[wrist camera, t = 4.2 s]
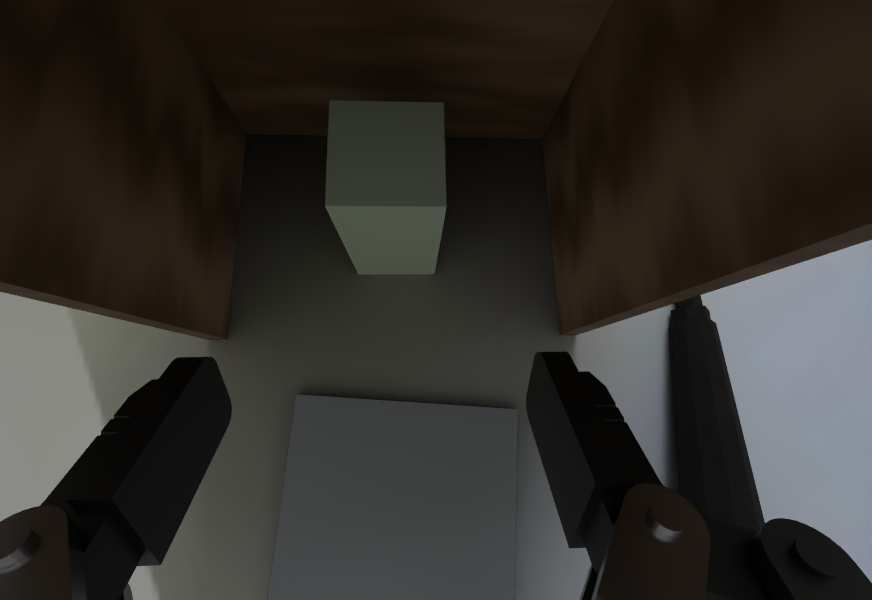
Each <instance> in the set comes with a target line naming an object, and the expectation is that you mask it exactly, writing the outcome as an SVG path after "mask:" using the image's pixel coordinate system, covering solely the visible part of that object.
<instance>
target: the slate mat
mask: <svg viewBox="0 0 872 600" xmlns="http://www.w3.org/2000/svg"><path fill="white" fill-rule="evenodd" d="M517 442H518V409H509V408H495V407H480V406H465V405H451V404H436V403H421V402H406V401H392V400H377V399H362V398H347V397H333V396H318V395H303V394H296V398H295V405H294V412H293V419H292V426H291V433H290V440H289V447H288V454H287V461H286V469H285V476H284V483H283V490H282V497H281V504H280V511H279V518H278V525H277V532H276V539H275V546H274V553H273V560H272V567H271V574H270V581H269V588H268V595H267V600H514V587H515V539H516V490H517Z"/></svg>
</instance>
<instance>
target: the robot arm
mask: <svg viewBox="0 0 872 600" xmlns="http://www.w3.org/2000/svg"><path fill="white" fill-rule="evenodd" d="M526 407H527V414H528V419H529V422H530V425H531V428H532V431H533V435H534V438H535V441H536V444H537V447H538V450H539V454H540V457H541V460H542V463H543V466H544V470H545V473H546V476H547V479H548V482H549V485H550V489H551V492H552V495H553V498H554V501H555V504H556V508H557V511H558V514H559V517H560V520H561V524H562V527H563V530H564V533H565V536H566V539H567V543H568V546H569V548H586V549H587V551H588V554H589V557H590V560H591V563H592V564H591V566H590V569H589V572H588V575H587V578H586V581H585V585H584V588H583V591H582V594H581V597H580V600H872V583H871V582H870V580H869V579H868V578H867V577H866V576H865V574H864V573H863V572H862V571H861V569H860V568H859V567H858V566H857V564H856V563H855V562H854V561H853V560H852V559H851V557H850V556H849V555H848V554H847V553H846V552H845V551H844V550H843V549H842V548H841V547H840V546H838V545H837V544H836V543H835V542H834V541H832V540H831V539H830V538H828V537H827V536H825V535H824V534H822V533H821V532H819V531H817V530H816V529H814V528H812V527H810V526H808V525H806V524H803V523H800V522H798V521H794V520H790V519H783V518H779V519H773V520H770V521H768V522H767V523H765V524H764V526H763V527H762V528H761V529H760V530H759V531H754V530H750V529H747V528H743V527H739V526H736V525H732V524H728V523H725V522H721V521H717V520H714V519H711V518H708V517H705V516H702V515H700V513H699V512H698V511H697V509H696V508H695V507H694V506H693V505H692V504H691V503H690V502H689V501H687V500H686V499H685V498H684V497H682V496H681V495H680V494H678V493H676V492H675V491H673V490H671V489H669V488H666V487H664V486H663V485H662V483H661V482H660V480H659V479H658V477H657V475H656V473H655V472H654V470H653V468H652V466H651V465H650V463H649V461H648V459H647V458H646V456H645V454H644V452H643V451H642V449H641V447H640V445H639V444H638V442H637V440H636V438H635V437H634V435H633V433H632V431H631V430H630V428H629V426H628V424H627V423H626V422H624V417H623V416H622V414H621V412H620V411H619V409H618V407H616V404H615V402H614V400H613V398H612V397H611V395H610V393H609V391H608V390H607V388H606V386H605V385H604V384H602V383H601V382H600V381H599V380H598V379H597V378H596V377H595V376H593V375H592V374H591V373H590V372H578V370H577V368H576V366H575V364H574V362H573V360H572V358H571V356H570V354H569V353H568V352H537V353H536V354H535V357H534V361H533V366H532V371H531V376H530V381H529V385H528V390H527V397H526ZM231 412H232V406H231V400H230V397H229V394H228V392H227V389H226V386H225V384H224V381H223V378H222V376H221V373H220V370H219V368H218V365H217V362H216V361H215V359H214V358H212V357H182V358H176V359H174V360H173V361H172V362H171V363H170V365H169V366H168V367H167V369H166V370H165V371H164V373H163V374H162V375H161V377H160V378H159V379H157V380H151V381H149V382H148V383H147V384H145V385H144V386H143V387H141V388H140V389H139V390H137V391H136V392H135V393H133V394H132V395H130V396H129V397H128V399H127V400H126V401H125V402H124V404H123V405H122V406H121V407H120V409H119V410H118V411H117V412H116V414H115V415H114V419H111V420H110V421H109V422H108V423H107V425H106V426H105V427H104V428H103V430H102V431H101V435H100V436H97V437H96V438H95V439H94V441H93V442H92V443H91V444H90V446H89V447H88V448H87V449H86V450H85V452H84V453H83V454H82V455H81V457H80V458H79V459H78V460H77V462H76V463H75V464H74V465H73V467H72V468H71V469H70V470H69V471H68V473H67V474H66V475H65V476H64V478H63V479H62V480H61V481H60V483H59V484H58V485H57V486H56V487H55V489H54V490H53V491H52V492H51V494H50V495H49V496H48V497H47V499H46V500H45V501H44V502H43V503H42V504H41V505H40V506H38V507H33V508H30V509H27V510H23V511H21V512H19V513H16V514H14V515H12V516H10V517H8V518H6V519H4V520H3V521H1V522H0V600H133V597H132V592H131V588H130V586H129V584H128V582H129V579H130V578H131V576H132V574H133V572H134V570H135V568H136V566H149V565H161V563H162V561H163V559H164V557H165V555H166V553H167V551H168V549H169V547H170V545H171V543H172V541H173V539H174V536H175V534H176V532H177V530H178V528H179V526H180V524H181V522H182V520H183V518H184V516H185V514H186V512H187V510H188V508H189V506H190V504H191V502H192V499H193V497H194V495H195V493H196V491H197V489H198V487H199V485H200V483H201V481H202V479H203V477H204V475H205V473H206V471H207V469H208V467H209V464H210V462H211V460H212V458H213V456H214V454H215V452H216V450H217V448H218V446H219V444H220V442H221V440H222V438H223V436H224V434H225V432H226V430H227V427H228V425H229V422H230V419H231Z"/></svg>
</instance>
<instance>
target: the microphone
mask: <svg viewBox="0 0 872 600" xmlns="http://www.w3.org/2000/svg"><path fill="white" fill-rule="evenodd" d="M671 316H672V324H671V325H670V326H669V333H670V349H671V365H672V382H673V398H674V414H675V431H676V447H677V463H678V480H679V494H680V495H681V496H682V497H684V498H685V499H686V500H687V501H689V502H690V503H691V504H692V505H693V506H694V507H695V508H696V509H697V511H698V512H699V513H700V515H702V516H705V517H708V518H711V519H714V520H717V521H721V522H725V523H728V524H732V525H736V526H739V527H743V528H747V529H750V530H754V531H759V530H760V529H761V528H762V527H763V526H764V524H765V522H764V518H763V514H762V510H761V505H760V501H759V497H758V493H757V489H756V485H755V481H754V477H753V473H752V469H751V465H750V461H749V456H748V452H747V448H746V444H745V440H744V436H743V432H742V428H741V424H740V420H739V416H738V411H737V407H736V403H735V399H734V395H733V391H732V387H731V383H730V379H729V375H728V371H727V366H726V362H725V358H724V354H723V350H722V346H721V342H720V338H719V334H718V330H717V326H716V323H715V322H713V321H712V320H711V319H710V313H709V310H708V309H707V308H706V306H703V305H702V300H701V296H700V295H698V296H695V297H692V298H689V299H686V300H683V301H680V302H677V303H676V309H675V310H672V311H671Z"/></svg>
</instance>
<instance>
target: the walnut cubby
mask: <svg viewBox="0 0 872 600" xmlns="http://www.w3.org/2000/svg"><path fill="white" fill-rule="evenodd" d="M329 100H341V101H389V102H438V103H444V132H445V137H468V138H531V139H542V140H543V151H544V163H545V174H546V185H547V197H548V208H549V219H550V231H551V242H552V253H553V265H554V276H555V287H556V299H557V310H558V321H559V333H560V335H578V334H581V333H584V332H587V331H590V330H593V329H596V328H599V327H602V326H605V325H609V324H612V323H615V322H618V321H621V320H624V319H627V318H630V317H633V316H636V315H640V314H643V313H646V312H649V311H652V310H655V309H658V308H661V307H664V306H667V305H670V304H674V303H677V302H680V301H683V300H686V299H689V298H692V297H695V296H698V295H701V294H704V293H708V292H711V291H714V290H717V289H720V288H723V287H726V286H729V285H732V284H735V283H739V282H742V281H745V280H748V279H751V278H754V277H757V276H760V275H763V274H766V273H769V272H773V271H776V270H779V269H782V268H785V267H788V266H791V265H794V264H797V263H800V262H803V261H807V260H810V259H813V258H816V257H819V256H822V255H825V254H828V253H831V252H834V251H838V250H841V249H844V248H847V247H850V246H853V245H856V244H859V243H862V242H865V241H868V240H872V0H0V292H4V293H9V294H13V295H17V296H22V297H26V298H30V299H35V300H39V301H44V302H48V303H52V304H57V305H61V306H65V307H69V308H74V309H78V310H82V311H87V312H91V313H95V314H100V315H104V316H108V317H113V318H117V319H121V320H126V321H130V322H134V323H139V324H143V325H147V326H152V327H156V328H160V329H165V330H169V331H173V332H178V333H182V334H186V335H191V336H195V337H199V338H204V339H208V340H221V339H227V334H228V323H229V313H230V302H231V292H232V281H233V271H234V260H235V250H236V239H237V229H238V219H239V208H240V198H241V187H242V177H243V166H244V156H245V145H246V135H247V134H279V135H328V123H329Z"/></svg>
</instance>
